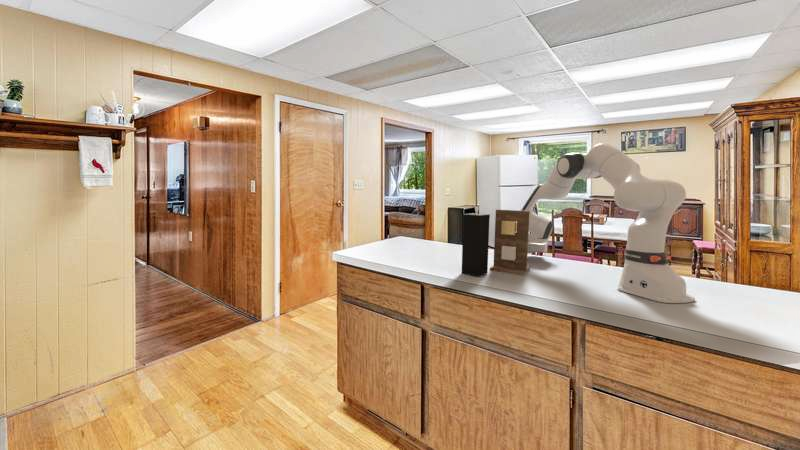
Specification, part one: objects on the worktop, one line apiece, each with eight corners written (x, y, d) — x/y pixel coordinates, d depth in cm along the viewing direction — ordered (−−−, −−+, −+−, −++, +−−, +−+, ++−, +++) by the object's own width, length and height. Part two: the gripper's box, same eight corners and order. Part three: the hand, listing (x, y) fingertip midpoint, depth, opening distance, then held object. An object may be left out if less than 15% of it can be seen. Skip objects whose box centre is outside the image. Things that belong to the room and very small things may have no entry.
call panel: (497, 266, 164) (500, 208, 161) (529, 270, 156) (532, 210, 153) (489, 270, 156) (492, 210, 153) (522, 275, 148) (525, 211, 145)
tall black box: (487, 273, 150) (490, 206, 147) (477, 277, 144) (480, 207, 141) (471, 270, 155) (473, 205, 152) (461, 273, 150) (463, 206, 147)
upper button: (506, 232, 157) (506, 219, 157) (519, 233, 154) (519, 220, 153) (501, 233, 152) (501, 220, 151) (514, 235, 148) (515, 221, 148)
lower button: (506, 256, 160) (507, 243, 159) (519, 257, 157) (519, 245, 156) (501, 258, 154) (501, 246, 154) (514, 260, 151) (515, 247, 150)
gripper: (507, 235, 183) (498, 239, 172) (550, 239, 172) (543, 243, 161) (507, 247, 184) (498, 252, 173) (549, 252, 173) (542, 257, 161)
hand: (520, 247), depth 167 cm, fingers closed
